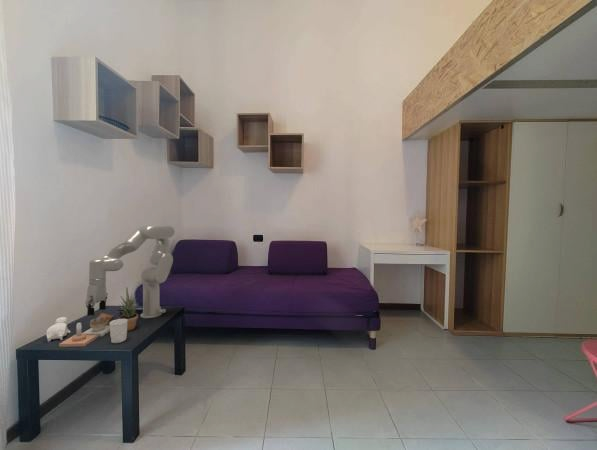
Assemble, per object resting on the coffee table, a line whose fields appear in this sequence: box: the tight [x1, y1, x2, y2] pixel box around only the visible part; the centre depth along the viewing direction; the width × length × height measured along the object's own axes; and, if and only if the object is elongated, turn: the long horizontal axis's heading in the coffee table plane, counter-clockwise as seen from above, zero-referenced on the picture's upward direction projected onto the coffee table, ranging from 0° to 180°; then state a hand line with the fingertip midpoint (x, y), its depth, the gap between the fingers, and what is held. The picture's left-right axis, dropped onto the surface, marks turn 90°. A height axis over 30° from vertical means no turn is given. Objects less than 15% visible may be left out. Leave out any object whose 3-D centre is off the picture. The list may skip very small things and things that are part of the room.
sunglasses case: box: [96, 312, 115, 326], centre depth 169 cm, size 18×7×7 cm
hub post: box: [58, 322, 99, 348], centre depth 141 cm, size 12×10×10 cm
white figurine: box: [46, 316, 71, 343], centre depth 148 cm, size 9×8×15 cm
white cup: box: [109, 318, 128, 344], centre depth 144 cm, size 8×8×10 cm
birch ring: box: [89, 318, 107, 328], centre depth 153 cm, size 7×7×3 cm
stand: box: [83, 317, 110, 337], centre depth 153 cm, size 11×11×8 cm
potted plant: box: [118, 286, 139, 332], centre depth 158 cm, size 10×10×25 cm
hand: (96, 312), depth 152 cm, fingers open, 9 cm apart
